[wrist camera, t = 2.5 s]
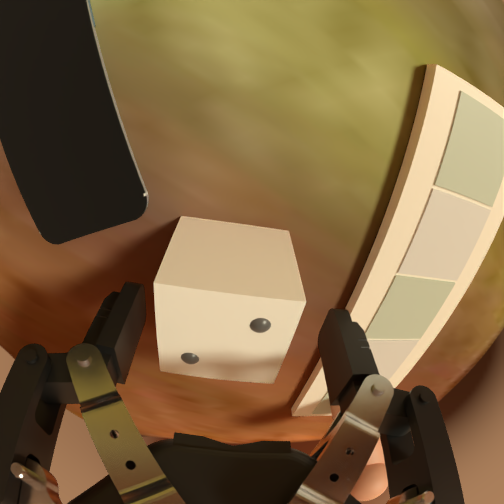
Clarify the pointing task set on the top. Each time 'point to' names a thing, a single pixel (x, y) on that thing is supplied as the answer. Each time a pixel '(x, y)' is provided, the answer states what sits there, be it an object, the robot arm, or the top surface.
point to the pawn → (369, 472)
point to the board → (427, 230)
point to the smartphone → (64, 121)
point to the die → (227, 301)
